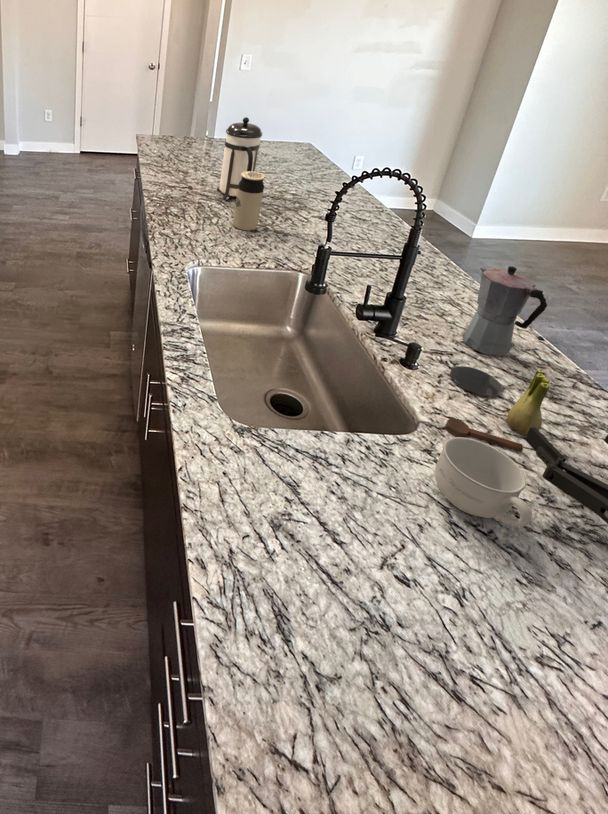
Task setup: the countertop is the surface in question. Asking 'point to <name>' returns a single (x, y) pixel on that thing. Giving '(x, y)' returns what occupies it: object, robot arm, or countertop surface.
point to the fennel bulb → (529, 405)
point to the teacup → (481, 480)
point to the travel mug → (248, 200)
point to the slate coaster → (476, 381)
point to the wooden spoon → (479, 435)
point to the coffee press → (239, 155)
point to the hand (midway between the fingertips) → (569, 433)
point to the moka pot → (500, 310)
